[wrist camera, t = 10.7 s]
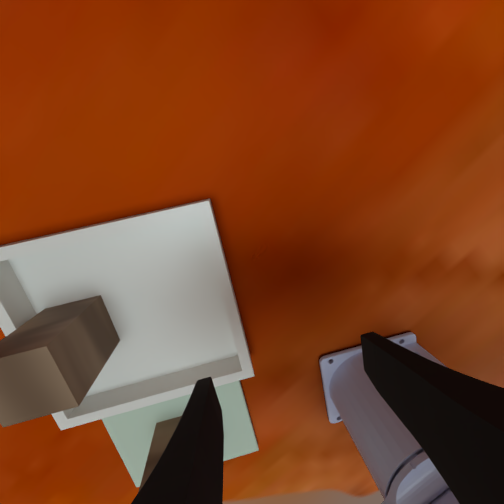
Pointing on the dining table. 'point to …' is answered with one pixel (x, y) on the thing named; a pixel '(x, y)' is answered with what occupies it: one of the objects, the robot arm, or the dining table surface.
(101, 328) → the plain block
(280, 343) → the dining table surface
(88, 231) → the parts tray
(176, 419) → the labelled block
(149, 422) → the sage mat
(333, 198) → the dining table surface
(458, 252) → the dining table surface
